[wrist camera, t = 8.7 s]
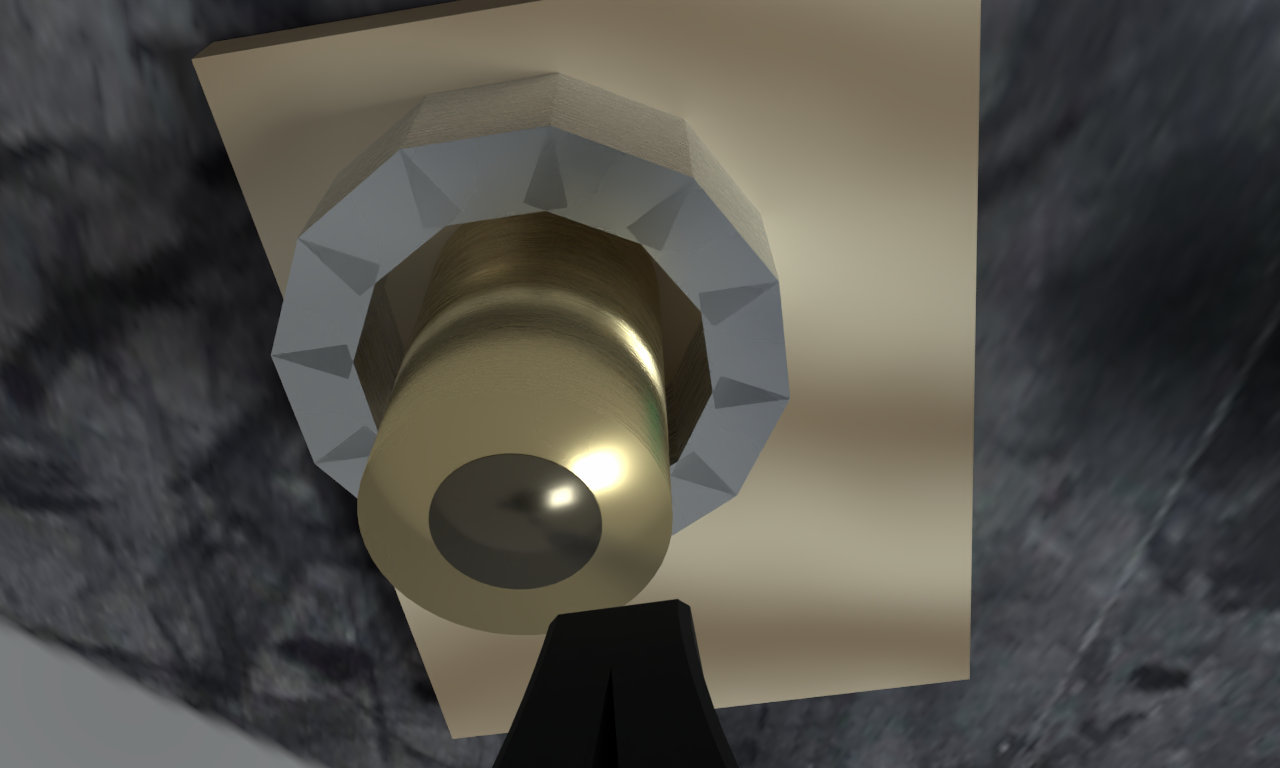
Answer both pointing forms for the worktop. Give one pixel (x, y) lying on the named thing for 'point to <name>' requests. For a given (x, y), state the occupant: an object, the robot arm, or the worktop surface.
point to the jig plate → (810, 298)
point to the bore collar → (525, 183)
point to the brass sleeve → (525, 430)
